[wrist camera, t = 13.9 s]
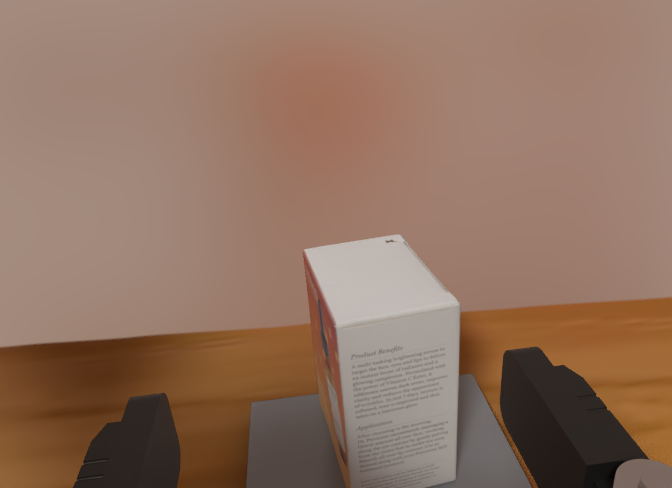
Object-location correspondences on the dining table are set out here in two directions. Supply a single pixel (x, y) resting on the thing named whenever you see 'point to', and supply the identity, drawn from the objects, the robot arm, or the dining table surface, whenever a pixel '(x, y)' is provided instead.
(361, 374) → the small box
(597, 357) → the dining table surface
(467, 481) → the slate tile
